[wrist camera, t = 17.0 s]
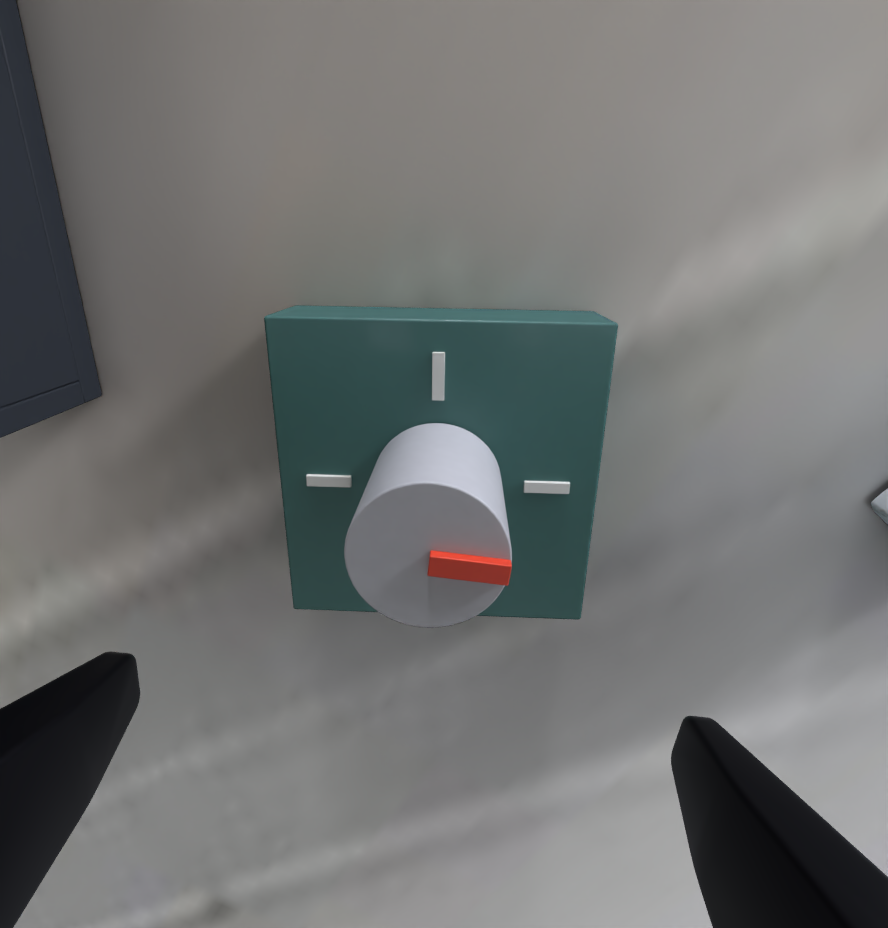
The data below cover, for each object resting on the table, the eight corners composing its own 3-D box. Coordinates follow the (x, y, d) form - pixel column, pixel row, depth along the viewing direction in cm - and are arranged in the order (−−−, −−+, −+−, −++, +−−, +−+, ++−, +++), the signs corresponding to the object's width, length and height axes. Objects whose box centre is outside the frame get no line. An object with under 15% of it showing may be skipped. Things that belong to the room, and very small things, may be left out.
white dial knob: (369, 531, 18) (337, 626, 14) (378, 414, 17) (345, 477, 12) (491, 546, 18) (498, 645, 14) (510, 430, 17) (526, 499, 12)
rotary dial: (293, 305, 18) (260, 316, 16) (595, 311, 18) (620, 323, 15) (315, 563, 22) (291, 612, 19) (566, 572, 22) (581, 623, 19)
